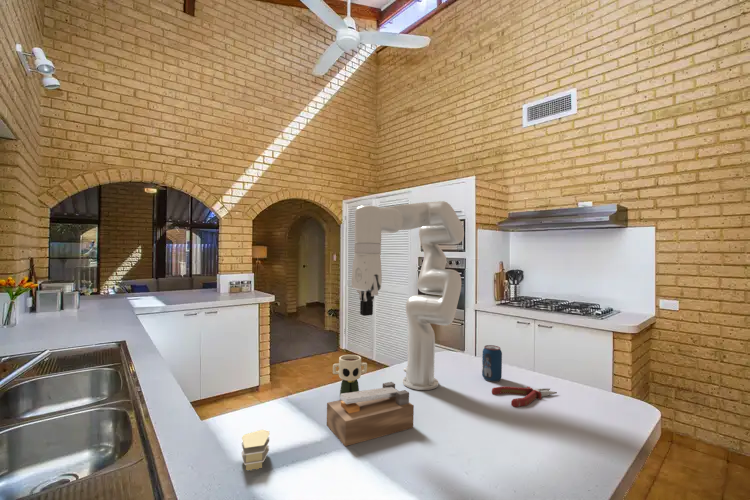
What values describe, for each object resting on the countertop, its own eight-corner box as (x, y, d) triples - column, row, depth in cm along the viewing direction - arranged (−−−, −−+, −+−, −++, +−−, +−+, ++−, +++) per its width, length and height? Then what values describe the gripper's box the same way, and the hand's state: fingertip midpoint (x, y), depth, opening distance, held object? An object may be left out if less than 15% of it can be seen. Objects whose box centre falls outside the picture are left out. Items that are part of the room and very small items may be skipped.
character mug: (332, 404, 111) (333, 361, 111) (331, 394, 118) (332, 354, 118) (368, 402, 113) (368, 360, 113) (364, 393, 120) (365, 354, 120)
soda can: (500, 377, 138) (501, 345, 138) (502, 383, 132) (503, 350, 132) (481, 375, 140) (482, 344, 140) (482, 381, 133) (483, 348, 133)
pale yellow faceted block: (277, 472, 77) (278, 446, 77) (232, 480, 74) (233, 453, 74) (275, 448, 87) (275, 424, 87) (234, 454, 84) (235, 430, 84)
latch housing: (326, 424, 98) (327, 391, 98) (389, 410, 108) (390, 379, 108) (345, 446, 87) (346, 408, 87) (413, 427, 97) (413, 394, 97)
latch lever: (339, 397, 96) (339, 393, 96) (392, 390, 104) (392, 386, 104) (347, 404, 92) (347, 399, 92) (401, 396, 100) (401, 391, 100)
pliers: (567, 401, 118) (568, 393, 118) (514, 409, 111) (514, 400, 111) (540, 388, 129) (540, 380, 129) (489, 394, 122) (490, 386, 122)
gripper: (344, 249, 107) (343, 311, 107) (368, 250, 94) (367, 320, 94) (366, 250, 111) (365, 310, 111) (393, 250, 98) (391, 318, 98)
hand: (366, 314), depth 102 cm, fingers closed
